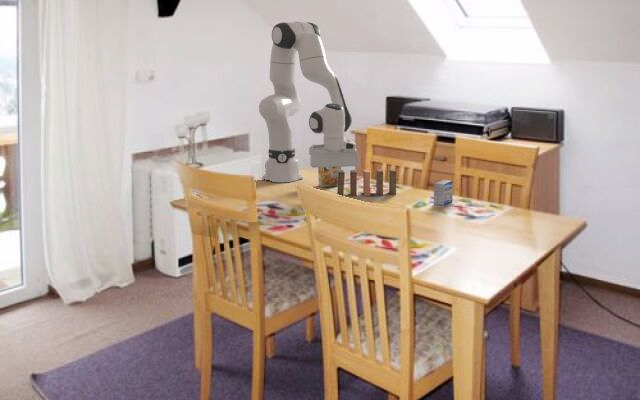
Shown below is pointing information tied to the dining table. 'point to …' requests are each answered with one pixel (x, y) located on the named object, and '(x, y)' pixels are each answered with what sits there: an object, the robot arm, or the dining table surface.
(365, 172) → the domino
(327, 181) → the candy box
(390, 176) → the domino
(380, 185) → the domino
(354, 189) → the domino
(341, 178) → the domino
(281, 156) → the robot arm
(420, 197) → the dining table surface
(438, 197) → the medicine box
